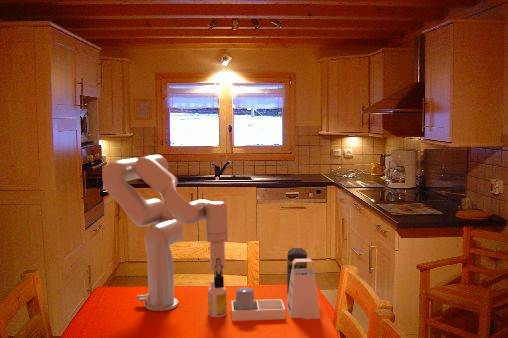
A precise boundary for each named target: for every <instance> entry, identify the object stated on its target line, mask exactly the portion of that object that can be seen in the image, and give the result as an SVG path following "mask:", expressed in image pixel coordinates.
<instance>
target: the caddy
mask: <svg viewBox="0 0 508 338" xmlns="http://www.w3.org/2000/svg"><path fill="white" fill-rule="evenodd" d="M230 303H231V318H232V321H233V322H241V321H265V320H267V321H269V320H272V321H273V320H285V319H286V308H285V307H286V306H285V304H284V302H283V299H282V298H281V299H280V298H278V299H274V298H273V299H272V298H271V299H254V310H236V300H231V301H230Z"/></svg>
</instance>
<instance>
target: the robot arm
mask: <svg viewBox="0 0 508 338" xmlns="http://www.w3.org/2000/svg"><path fill="white" fill-rule="evenodd" d="M102 171H103V172H102V174H101V175H102V183H103V186H104V189H105V190H106V192H107V193H108V194H109V195H110V196H111V197H112V198H113V200H114V201H115V202H117V204H118V205H119V206H120V208H121V209H122V210H123V211H124V212H125V215H127V216H128V218H129V219H130V220H131V221H132V222H133V223H134V224H135V226H137V227H140V228H142V227H147V226H150V227H148V229H147V230H146V231H145V233H144V239H143V240H144V245H145V249H146V256H147V282H148V283H147V288H148V291H147V292H148V293H145V294H136V301H138V302H144V308H145V309H146V310H148V311H151V312H152V311H153V312H166V311H170V310H173V309H175V308H176V307H177V306H179V300H178V299H177V298H175V284H174V283H175V282H174V281H175V280H174V278H175V277H174V256H173V253H172V250H171V246H172V245H174V244H176V243H178V242H180V241H181V240H182V239H183V237H184V235H185V228H184V225H183V224H185V225H193V224H197V223H199V222H201V221H205V228H206V242H207V243H209V262H210V263H209V264H210V270H211V271H213V277H214V278H213V279H214V284H215V288H223V287H225V282H224V269H225V266H226V265H225V262H226V259H225V258H226V242H227V241H229V233H228V232H229V231H228V228H229V227H228V205H227V203H226V202H225V201H223V200H222V201H221V200H214V201H212V200H208V199H204V198H203V199H199V198H198V199H196V200H192V201H190V202H188V201H187V200H186V199H185V198H183V197H182V196H181V194H179V193H178V191H177V189H176V188H177V186H178V181H179V180H178V178H177V177H176V176H175V175H174V174H172V172H170V171H169V163H168V160H167V159H166V158H165V157H164V156H162V155H160V154H152V155H145V156H137V157H136V156H135V157H130V158H123V159H117V160H112V161H110V162H109V163H108V164H106V165H105V166H104V168H103V170H102ZM139 179H141V180H142V181H143V182H145V183H146V184H147V185H148V186H149V187H151V188H152V189H153V190H154V191H155V192H156V193H158V195H160V196H161V199H159V198H156V197H155V198H153V197H152V198H149V199H145V198H144V196H142V195H141V194H140V192H139V191H138V189H136V188H135V187H134V186H132V185H131V184H129V183H128V181H133V180H139ZM182 223H183V224H182Z"/></svg>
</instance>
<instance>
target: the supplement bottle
mask: <svg viewBox="0 0 508 338" xmlns="http://www.w3.org/2000/svg"><path fill="white" fill-rule="evenodd" d="M227 313H228V310H227V288H226V287H225V286H224V287H223V288H215V284H214V278H213V279H211V280H210V286H209V287H208V289H207V314H208V315H209V316H210V317H212V318H221V317H225V316H227Z"/></svg>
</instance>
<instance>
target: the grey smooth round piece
mask: <svg viewBox="0 0 508 338" xmlns="http://www.w3.org/2000/svg"><path fill="white" fill-rule="evenodd" d="M254 295H255V291H254V289H253V288H251V287H245V286H244V287H240V288H239V287H238V288H237V289H236V290H235V301H236V310H254V300H255V296H254Z"/></svg>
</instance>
